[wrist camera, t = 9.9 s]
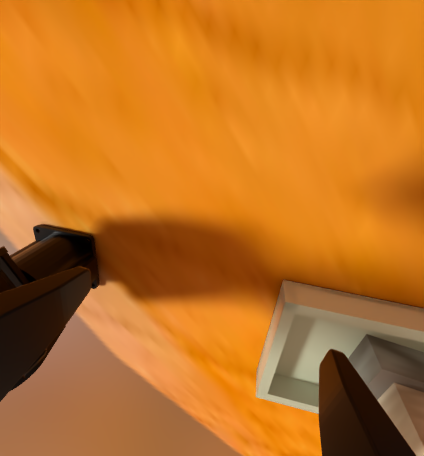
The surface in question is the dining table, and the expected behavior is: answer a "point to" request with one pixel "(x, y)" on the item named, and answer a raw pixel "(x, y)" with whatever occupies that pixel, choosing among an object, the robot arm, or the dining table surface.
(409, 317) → the tray
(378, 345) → the square pillar on base
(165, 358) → the dining table surface
